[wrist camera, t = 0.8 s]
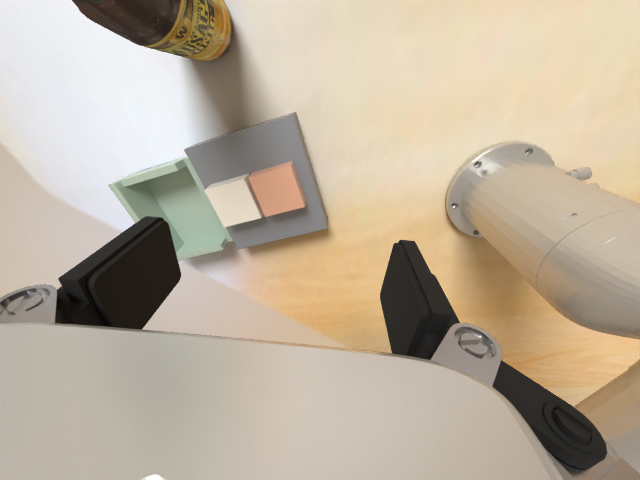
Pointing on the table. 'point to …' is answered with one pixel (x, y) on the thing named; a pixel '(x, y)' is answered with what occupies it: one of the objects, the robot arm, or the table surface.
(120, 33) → the sauce bottle
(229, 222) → the cream tile
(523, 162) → the robot arm
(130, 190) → the bin
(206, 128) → the table surface
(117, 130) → the table surface
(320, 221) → the slate board
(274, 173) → the terracotta tile
